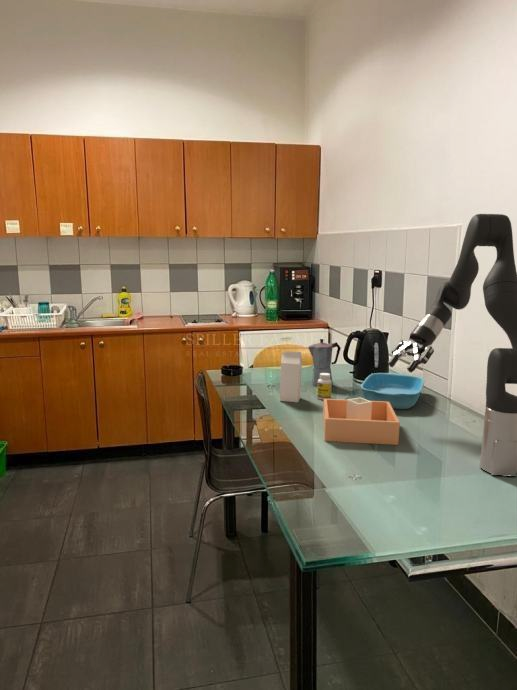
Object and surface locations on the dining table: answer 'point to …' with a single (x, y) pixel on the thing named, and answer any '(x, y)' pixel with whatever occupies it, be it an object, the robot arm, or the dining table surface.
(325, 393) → the supplement bottle
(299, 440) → the dining table surface
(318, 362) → the moka pot
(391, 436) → the large crate
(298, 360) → the milk carton
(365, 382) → the casserole dish
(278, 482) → the dining table surface
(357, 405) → the small crate
